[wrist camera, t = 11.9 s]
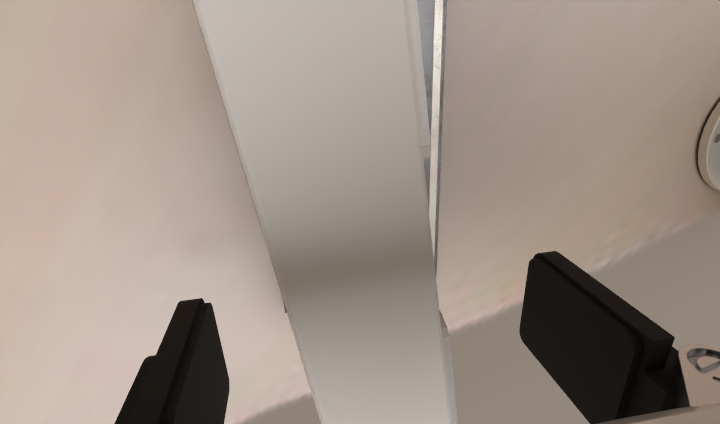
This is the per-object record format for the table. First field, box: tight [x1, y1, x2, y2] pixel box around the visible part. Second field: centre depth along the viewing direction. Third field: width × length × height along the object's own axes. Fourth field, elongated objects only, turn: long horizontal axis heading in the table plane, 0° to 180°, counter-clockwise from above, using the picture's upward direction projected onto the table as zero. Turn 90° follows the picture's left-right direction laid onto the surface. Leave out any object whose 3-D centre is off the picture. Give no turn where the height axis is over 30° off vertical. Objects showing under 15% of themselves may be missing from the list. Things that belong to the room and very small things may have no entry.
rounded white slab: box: [192, 0, 457, 424], centre depth 21 cm, size 29×8×18 cm, turn 10°
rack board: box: [284, 0, 447, 313], centre depth 31 cm, size 14×26×1 cm, turn 3°
